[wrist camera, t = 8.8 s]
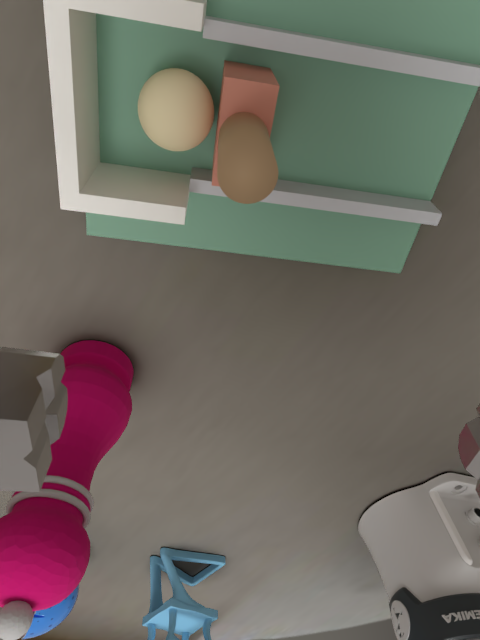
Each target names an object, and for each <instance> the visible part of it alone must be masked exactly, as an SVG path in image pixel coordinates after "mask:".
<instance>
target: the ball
mask: <svg viewBox="0 0 480 640" xmlns="http://www.w3.org/2000/svg"><path fill="white" fill-rule="evenodd" d="M138 116H139V120H140V123H141V126H142V128H143V130H144V132H145V133H146V134H147V136H148V137H149V138H150V139H151V140H152V141H153V142H154V143H155V144H157V145H158V146H160V147H162V148H164V149H167V150H170V151H186V150H189V149H192V148H194V147H196V146H197V145H199V144H200V143H201V142H202V141H203V140H204V139H205V138H206V137H207V135H208V134H209V132H210V130H211V127H212V124H213V120H214V104H213V100H212V97H211V94H210V92H209V90H208V88H207V87H206V85H205V84H204V83H203V81H202V80H201V79H200V78H199V77H197V76H196V75H194V74H193V73H191V72H189V71H187V70H184V69H179V68H168V69H164V70H161V71H159V72H157V73H155V74H154V75H152V76H151V77H150V78H149V79H148V80H147V81H146V82H145V84H144V86H143V87H142V89H141V92H140V95H139V99H138Z"/></svg>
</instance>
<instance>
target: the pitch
mask: <svg viewBox="0 0 480 640" xmlns="http://www.w3.org/2000/svg"><path fill="white" fill-rule="evenodd" d="M43 5H44V17H45V29H46V41H47V53H48V65H49V77H50V88H51V100H52V112H53V124H54V136H55V148H56V159H57V171H58V183H59V195H60V207H61V209H64V210H72V211H80V212H86V227H87V235H92V236H100V237H108V238H116V239H125V240H133V241H141V242H149V243H157V244H165V245H173V246H181V247H190V248H198V249H206V250H214V251H222V252H230V253H238V254H246V255H255V256H263V257H271V258H279V259H287V260H295V261H303V262H312V263H320V264H328V265H336V266H344V267H352V268H360V269H368V270H377V271H385V272H393V273H401V271H402V268H403V266H404V263H405V261H406V259H407V256H408V254H409V252H410V249H411V247H412V244H413V242H414V240H415V237H416V235H417V232H418V230H419V228H420V225H421V224H428V225H435V226H437V225H438V223H439V220H440V218H441V216H442V213H441V212H440V211H439V210H438V209H437V207H436V206H435V205H434V204H433V203H432V202H431V199H432V197H433V194H434V192H435V190H436V187H437V185H438V182H439V180H440V178H441V175H442V173H443V171H444V168H445V166H446V163H447V161H448V159H449V156H450V154H451V152H452V149H453V147H454V144H455V142H456V140H457V137H458V135H459V132H460V130H461V128H462V125H463V123H464V121H465V118H466V116H467V113H468V111H469V109H470V106H471V104H472V102H473V99H474V97H475V94H476V92H477V90H478V87H479V86H480V0H43ZM224 60H226V61H232V62H238V63H243V64H249V65H255V66H261V67H267V68H271V70H272V72H273V74H274V76H275V78H276V80H277V82H278V84H279V92H278V97H277V103H276V108H275V113H274V119H273V124H272V130H271V135H270V141H271V144H272V148H273V151H274V155H275V159H276V162H277V166H278V180H277V183H276V186H275V188H274V189H273V191H272V192H271V193H270V194H269V195H268V196H267V197H266V198H265V199H263V200H261V201H259V202H256V203H252V204H242V203H238V202H235V201H233V200H231V199H230V198H229V197H227V196H226V195H225V194H224V192H223V191H222V190H221V188H220V187H219V186H212V170H213V154H214V145H215V137H216V128H217V120H218V111H219V103H220V94H221V86H222V77H223V68H224ZM168 68H179V69H184V70H187V71H189V72H191V73H193V74H194V75H196V76H197V77H199V78H200V79H201V80H202V81H203V83H204V84H205V85H206V87H207V88H208V90H209V92H210V94H211V97H212V100H213V104H214V120H213V124H212V127H211V130H210V132H209V134H208V135H207V137H206V138H205V139H204V140H203V141H202V142H201V143H200V144H199V145H197V146H196V147H194V148H192V149H189V150H186V151H170V150H167V149H164V148H162V147H160V146H158V145H157V144H155V143H154V142H153V141H152V140H151V139H150V138H149V137H148V136H147V134H146V133H145V132H144V130H143V128H142V126H141V123H140V120H139V116H138V99H139V95H140V92H141V89H142V87H143V86H144V84H145V82H146V81H147V80H148V79H149V78H150V77H151V76H152V75H154V74H155V73H157V72H159V71H161V70H164V69H168Z"/></svg>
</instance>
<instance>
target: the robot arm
mask: <svg viewBox="0 0 480 640" xmlns="http://www.w3.org/2000/svg"><path fill="white" fill-rule="evenodd" d="M64 372H65V364H64V357H63V356H62V355H61V354H57V353H49V352H40V351H32V350H24V349H15V348H7V347H2V348H1V347H0V491H23V492H40V490H41V488H42V485H43V482H44V480H45V477H46V474H47V471H48V469H49V466H50V463H51V461H52V455H51V447H50V445H51V444H53V443H54V442H55V441H57V440H58V439H59V438H60V436H61V433H62V430H63V427H64V423H65V418H66V413H67V404H68V394H67V388H66V387H65V386H64V385H63V384H62V383H61V380H62V377H63V375H64ZM476 409H477V413H478V417H477V418H475V419H473V420H472V421H470V422H468V423H466V425H465V427H464V428H463V430H462V432H461V433H460V435H459V445H458V449H459V454H460V459H461V461H462V463H463V465H464V467H465V469H466V470H467V471H468V472H469V473H470V474H471V475H472V476H474V477H475V478H474V477H470V476H465V475H461V474H456V473H445V474H442V475H440V476H438V477H436V478H434V479H432V480H430V481H428V482H426V483H424V484H422V485H420V486H417V487H413V488H409V489H406V490H403V491H399V492H397V493H394V494H392V495H389V496H387V497H385V498H383V499H381V500H380V501H378V502H377V503H375V504H374V505H372V506H371V507H370V508H369V509H368V510H367V511H366V512H365V513H364V514H363V516H362V517H361V519H360V521H359V525H358V530H359V533H360V535H361V537H362V539H363V540H364V542H365V544H366V546H367V547H368V549H369V551H370V553H371V555H372V557H373V559H374V562H375V564H376V566H377V569H378V571H379V573H380V576H381V578H382V581H383V584H384V586H385V589H386V592H387V595H388V597H389V600H390V604H389V606H390V611H391V616H392V621H393V626H394V630H395V634H396V637H397V640H480V404H479V405H478V407H477V408H476Z"/></svg>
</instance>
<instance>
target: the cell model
mask: <svg viewBox="0 0 480 640" xmlns="http://www.w3.org/2000/svg"><path fill="white" fill-rule="evenodd" d="M78 592H79V584H78V586H77V587H76V589H75V590H74V591H73V592H72V593H71V594H70V595H69V596H68V597H67V598H65V599H64V600H63V601H61V602H60V603H58V604H56V605H54V606H52V607H50V608H47V609H44V610H38V611H33V620H32V624H31V626H30V628H29V630H28V631H27V632H26V633H25V634H24V635H23V636H22V637H21V639H29V638H33V637H37V636H40V635H42V634H45V633H47V632H49V631H50V630H52V629H54V628H55V627H56V626H58V625H59V624H60V623H61V622H62V621H63V620H64V619H65V618H66V617H67V616H68V615H69V613H70V612H71V610H72V609H73V607H74V604H75V602H76V600H77V597H78Z"/></svg>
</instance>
